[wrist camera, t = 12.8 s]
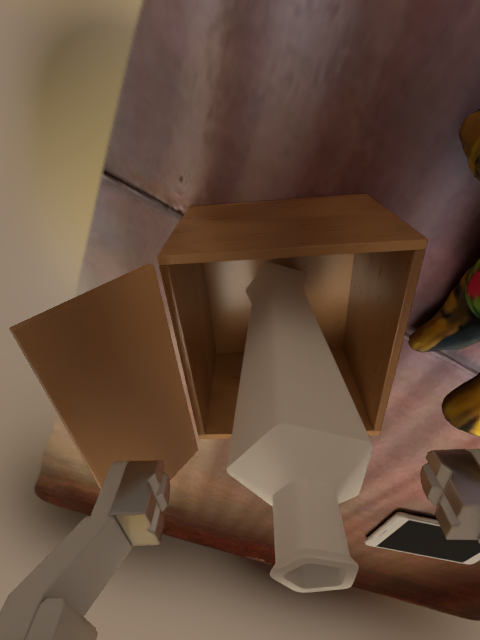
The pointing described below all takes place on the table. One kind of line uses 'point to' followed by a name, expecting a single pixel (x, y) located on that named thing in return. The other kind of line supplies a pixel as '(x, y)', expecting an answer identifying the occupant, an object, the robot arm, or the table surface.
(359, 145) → the table surface
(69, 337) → the carton flap
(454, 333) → the multicolored animal figure
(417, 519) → the smartphone
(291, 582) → the perfume bottle
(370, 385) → the carton
